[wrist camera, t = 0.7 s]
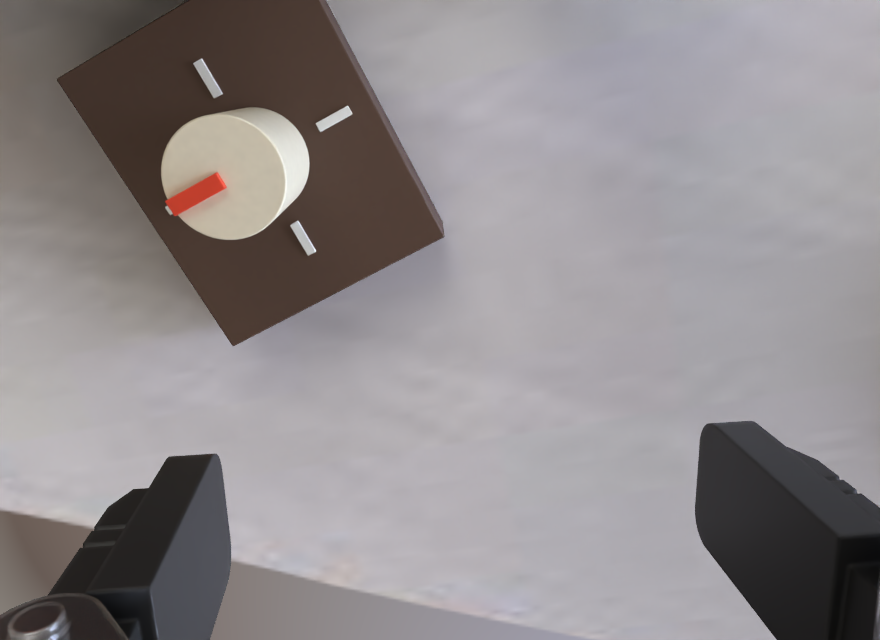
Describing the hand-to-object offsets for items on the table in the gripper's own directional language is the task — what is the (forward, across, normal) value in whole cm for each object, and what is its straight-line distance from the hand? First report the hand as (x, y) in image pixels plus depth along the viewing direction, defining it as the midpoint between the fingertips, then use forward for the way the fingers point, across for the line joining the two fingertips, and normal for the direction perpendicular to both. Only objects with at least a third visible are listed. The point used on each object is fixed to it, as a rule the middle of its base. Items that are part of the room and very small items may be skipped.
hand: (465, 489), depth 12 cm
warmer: (+21, +6, -5) cm, 23 cm away
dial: (+18, +6, -5) cm, 20 cm away
